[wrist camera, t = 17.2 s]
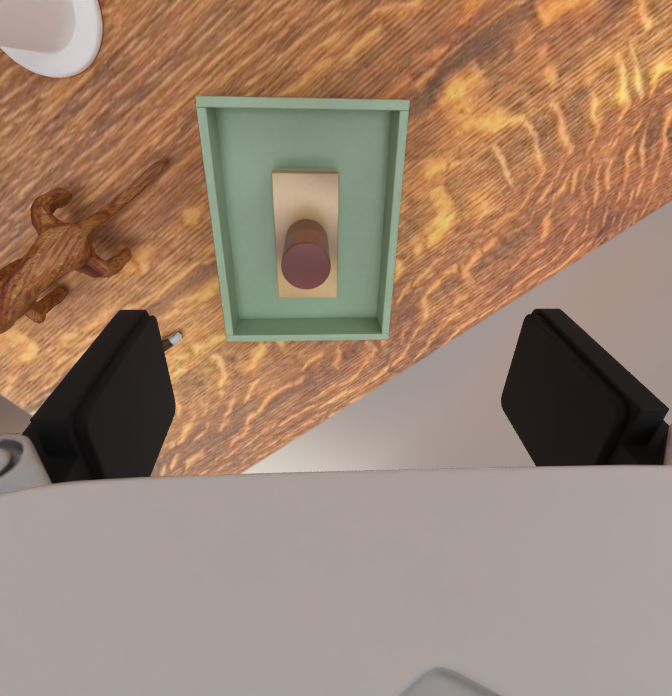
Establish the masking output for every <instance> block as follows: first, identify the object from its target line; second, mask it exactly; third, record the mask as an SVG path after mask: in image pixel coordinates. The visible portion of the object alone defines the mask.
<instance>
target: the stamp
mask: <svg viewBox="0 0 672 696" xmlns="http://www.w3.org/2000/svg"><path fill="white" fill-rule="evenodd" d="M271 178H272V195H273V213H274V230H275V248H276V265H277V283H278V297H279V298H320V297H337V266H338V213H339V172H338V170H337V169H310V168H274V169H273V171H272V173H271Z"/></svg>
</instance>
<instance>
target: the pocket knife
mask: <svg viewBox="0 0 672 696" xmlns="http://www.w3.org/2000/svg"><path fill="white" fill-rule="evenodd" d="M181 339H182V335H181V334H180V333H179V332H178V333H174V334H171V335H169V336H168V337H166V338H165V339H163V340H162V345H163V349H164V352H165V351H166V350H168V349H169V348H171V347H172V346H174V345H175V344H176V343H177V342H178V341H180V340H181Z"/></svg>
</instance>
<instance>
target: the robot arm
mask: <svg viewBox="0 0 672 696" xmlns="http://www.w3.org/2000/svg"><path fill="white" fill-rule="evenodd" d="M501 404H502V408H503V411H504V412H505V414H506V416H507V417H508V419H509V421H510V422H511V424H512V426H513V428H514V429H515V431H516V433H517V434H518V436H519V438H520V440H521V441H522V443H523V445H524V446H525V448H526V450H527V451H528V453H529V455H530V456H531V458H532V460H533V462H534V463H535V465H536V466H535V467H491V468H490V467H489V468H446V469H404V470H369V471H368V470H366V471H331V472H295V473H294V472H293V473H257V474H224V475H191V476H158V477H150V475H151V473H152V470H153V468H154V465H155V463H156V460H157V458H158V455H159V453H160V450H161V448H162V445H163V442H164V440H165V437H166V435H167V432H168V430H169V427H170V425H171V422H172V420H173V417H174V414H175V407H176V406H175V398H174V394H173V389H172V385H171V380H170V376H169V371H168V367H167V363H166V358H165V354H164V349H163V345H162V340H161V336H160V331H159V327H158V322H157V319H156V317H155V316H149V314H148V312H147V311H146V310H120V311H118V312H117V314H116V315H115V316H114V317H113V319H112V320H111V321H110V322H109V323H108V325H107V326H106V327H105V328H104V330H103V331H102V332H101V333H100V335H99V336H98V337H97V338H96V339H95V341H94V342H93V343H92V344H91V346H90V347H89V348H88V349H87V351H86V352H85V353H84V354H83V355H82V357H81V358H80V359H79V360H78V362H77V363H76V364H75V365H74V367H73V368H72V369H71V370H70V371H69V373H68V374H67V375H66V376H65V378H64V379H63V380H62V381H61V383H60V384H59V385H58V386H57V387H56V389H55V390H54V391H53V392H52V394H51V395H50V396H49V397H48V398H47V400H46V401H45V402H44V403H43V405H42V406H41V407H40V408H39V410H38V411H37V412H36V413H35V414H34V416H33V417H32V418H31V419H30V421H31V423H30V425H29V426H28V427H27V428H26V430H25V431H24V432H23V433H22V434H19V433H2V434H0V696H672V424H671V425H670V426H669V425H668V424H667V423H666V422H665V421H664V420H663V419H664V417H665V415H666V414H667V412H668V410H669V408H668V407H667V406H666V405H664V404H663V403H662V402H661V401H660V400H659V399H658V398H657V397H655V395H654V394H652V393H651V392H650V391H649V390H648V389H647V388H646V387H645V386H644V385H643V384H641V383H640V382H639V381H638V380H637V379H636V378H635V377H634V376H633V375H632V374H631V373H630V372H628V371H627V370H626V369H625V368H624V367H623V366H622V365H621V364H620V363H618V361H616V360H615V359H614V358H613V357H612V356H611V355H610V354H609V353H608V352H607V351H606V350H604V349H603V348H602V347H601V346H600V345H599V344H598V343H597V342H596V341H595V340H593V339H592V338H591V337H590V336H589V335H588V334H587V333H586V332H585V331H584V330H583V329H582V328H580V327H579V326H578V325H577V324H576V323H575V322H574V321H573V320H572V319H571V318H569V317H568V316H567V315H566V314H565V313H564V312H563V311H561V310H560V309H535V310H534V311H533V312H532V313H531V314H528V315H527V316H526V317H525V319H524V322H523V325H522V328H521V332H520V335H519V339H518V342H517V345H516V349H515V352H514V356H513V359H512V362H511V366H510V369H509V373H508V376H507V380H506V383H505V386H504V390H503V393H502V397H501Z"/></svg>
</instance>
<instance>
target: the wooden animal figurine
mask: <svg viewBox="0 0 672 696" xmlns="http://www.w3.org/2000/svg"><path fill="white" fill-rule="evenodd" d="M164 167H165V164H164V162H162V161H157V162H155V163H154V164H153V165H152V166H151V167H150V168H148V169H147V170H146V171H145V172H144V173H143V174H142V175H141V176H140V177H139V178H138V179H137V180H136V181H135V182H134V183H133V184H132V185H131V186H130V187H128V188H127V189H126V190H125V191H124V192H123V193H122V194H120V195H119V196H118V197H117V198H116V199H115V200H113V201H112V202H111V203H110V204H108V205H107V206H106V207H104V208H103V209H101V210H100V211H98V212H97V213H95V214H93V215H92V216H90V217H89V218H87V219H86V220H84V221H81V222H79V223H65V222H62V221H59V220H58V219H57V218H56V217H55V216H54V215H53V213H54V211H55V210H56V209H57V208H63V207H64V206H65V205H66V204H67V203H68V202H69V201H70V200H71V198H72V194H71V193H70V192H69V191H67V190H66V189H63V188H60V187H59V188H55V189H53V190H52V191H50V192H48V193H46V194H43V195H41V196H40V197H38V198H36V199H35V201H34V202H33V204H32V206H31V221H32V224H33V226H34V228H35V229H36V231H37V233H38V235H39V237H38V239H37V240H36V241H35V242H34V244H33V245H32V247H31V248H30V249H29V251H28V252H27V253H26V254H25V256H24V257H23V258H21V259H18V260H16V261H14V262H12V263H10V264H8V265H7V266H5V267H4V268H2V269H0V334H1V333H4V332H5V331H7V330H8V329H10V328H11V327H12V326H13V325H14V323H15V322H16V321H17V320H18V319H19V318H20V317H22V316H23V315H24V314H25V315H26V316H27V317H29V318H30V319H31V320H33V321H34V322H36V323H41V322H44V320H45V317H46V313H48V312H49V311H50V310H51V309H52V308H53V307H55V306H56V305H57V304H59V303H60V302H61V301H62V300H64V299H65V297H66V295H67V294H66V292H65V291H64V290H63V289H62V288H60V287H57V288H56V289H54V290H53V291H52V292H50V293H49V294H48V295H46V296H45V297H44V298H43V299H41V300H40V301H39V302H35V301H36V300H37V298H38V296H39V295H40V294H41V293H42V292H44V291H45V290H46V289H47V288H48V287H50V286H51V285H52V284H53V283H55V282H56V281H57V280H58V279H60V278H61V277H62V276H64V275H65V274H66V273H68V272H70V271H73V270H76V271H79V272H82V273H85V274H87V275H89V276H91V277H94V278H98V277H111V276H113V275H115V274H117V273H119V271H120V270H121V269H122V268H123V267H124V265H125V264H126V263H127V262H128V261H129V260H130V258H131V257H132V254H131V251H130V249H129V248H128V247H126V248H124V249H123V250H122V251H121V252H120V253H119V254H117V255H115V256H114V257H112V258H110V259H109V260H107V261H104V260H103V259H101V258H100V257H99V256H98V255H97V254H96V253H95V250H94V248H93V245H92V242H91V237H90V234H91V232H92V230H93V229H94V228H96V227H97V226H99V225H100V224H102V223H103V222H105V221H106V220H107V219H109V218H110V217H111V216H113V215H114V214H115V213H117V212H118V211H119V210H120V209H122V208H123V207H124V206H125V205H126V204H128V203H129V202H130V201H131V200H132V199H133V198H134V197H135V196H137V195H138V194H139V193H140V192H141V191H142V190H143V189H144V188H145V187H146V186H147V185H148V184H149V183H151V182H152V181H153V180H154V179H155V178H156V177H157V176H158V175H159V174H160V173H161V172H162V171H163V169H164Z"/></svg>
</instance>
